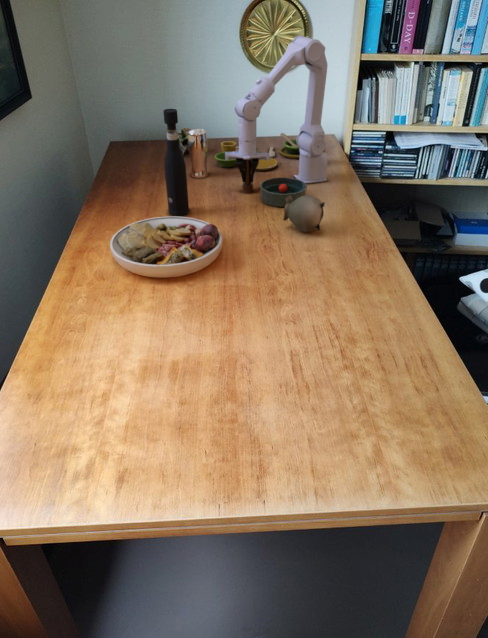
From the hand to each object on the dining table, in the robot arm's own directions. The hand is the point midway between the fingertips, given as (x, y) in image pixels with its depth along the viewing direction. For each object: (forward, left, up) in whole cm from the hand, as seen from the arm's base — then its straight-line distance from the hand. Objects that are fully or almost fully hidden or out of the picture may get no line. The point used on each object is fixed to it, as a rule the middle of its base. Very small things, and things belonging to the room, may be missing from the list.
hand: (247, 181), depth 185 cm
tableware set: (-18, -28, -4) cm, 33 cm away
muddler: (0, 0, -3) cm, 3 cm away
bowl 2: (-9, +10, -3) cm, 14 cm away
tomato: (-11, +6, -1) cm, 12 cm away
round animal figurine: (-7, +34, -4) cm, 35 cm away
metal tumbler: (+12, -20, -4) cm, 24 cm away
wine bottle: (+26, +10, -4) cm, 28 cm away
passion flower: (+12, -45, -4) cm, 47 cm away
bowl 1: (+35, +38, -4) cm, 52 cm away
